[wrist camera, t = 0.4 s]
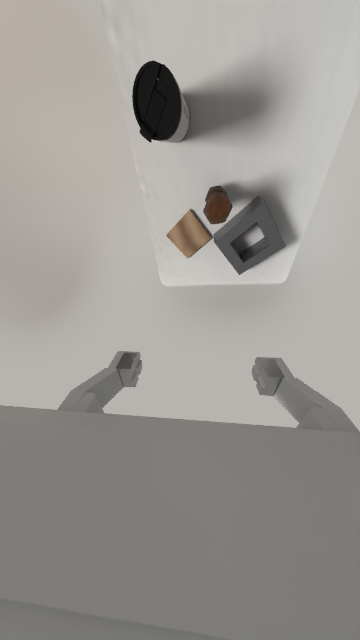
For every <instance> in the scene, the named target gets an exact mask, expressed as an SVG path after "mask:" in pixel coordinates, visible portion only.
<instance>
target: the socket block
mask: <svg viewBox="0 0 360 640" xmlns="http://www.w3.org/2000/svg"><path fill="white" fill-rule="evenodd" d="M256 222H257V224H258V226H259V228H260V229H261V231H262V233H263V235H264V238H263V239H261V240H260V241H258V242H257V243H256V244H254V245H253V246H251V247H250V248H248V249H247V250H246V251H244V252H243V253H241V254H240V253H239V251H238V250H237V248H236V247H235V245H234V244H233V243H232V241H233V240H234V239H236V238H237V237H238V236H239V235H241V234H242V233H243V232H245V231H246V230H247V229H248V228H250V227H251V226H252V225H254V224H255V223H256ZM214 242H215V244H216V245H217V246H218V248H219V249H220V250H221V252H222V253H223V254H224V256H225V257H226V258H227V259H228V261H229V262H230V263H231V265H232V266H233V267H234V269H235V270H236V271H237V273H238V274H239V275H240V274H242V273H243V272H245V271H247V270H248V269H250V268H251V267H253V266H255V265H256V264H258V263H260V262H261V261H263V260H264V259H266V258H268V257H269V256H271V255H272V254H274V253H276V252H277V251H279V250H280V249H282V248H284V247H285V244H284V242H283V240H282V237H281V235H280V233H279V231H278V229H277V227H276V225H275V223H274V221H273V219H272V217H271V215H270V213H269V211H268V209H267V207H266V204H265V202H264V201H263V200H262V199H261V198H260V197H259V196H258V197H256V198H255V199H254V200H253V201H252V202H251V203H249V204H248V205H247V206H246V207H245V208H244V209H243V210H241V211H240V212H239V213H238V214H237V215H236V216H234V217H233V218H232V219H231V220H230V221H229V222H228V223H226V224H225V225H224V226H223V227H222V228H221V229H220V230H218V231H217V232H216V233H215V234H214Z"/></svg>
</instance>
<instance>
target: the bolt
mask: <svg viewBox="0 0 360 640" xmlns="http://www.w3.org/2000/svg"><path fill="white" fill-rule="evenodd" d="M205 201H206V205H205V208H204V210H203V212H204V214H205V216H206V217H207V219H208V221H209V222H210V224H219V223H223V222H225V221H226V219H227V217H228V215H229V214H230V212H231V209H232V207H233V206H232V204H231V202H230V200H229V198H228V196H227V194H226V192H225V191H223V189H222V187H221V186H215V187H211V188H210V189H209V191H208V194H207V196H206V199H205Z"/></svg>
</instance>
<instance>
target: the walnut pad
mask: <svg viewBox="0 0 360 640" xmlns="http://www.w3.org/2000/svg"><path fill="white" fill-rule="evenodd" d="M167 237H168V238H169V239H170V240H171V241H172V242H173V243H174V244H175V245H176V247H177V248H178V249H179V250H180V251H181V252H182V253H183V254H184V255H185V256H186V257H187V258H189V257H190V256H191V255H192V254H193V253H194V252H196V251H197V250H198V249H199V248H200V247H201V246H203V245H204V244H205V243H206V242H207V241H208V240H210V239H211V236H210V235H209V233H208V232H207V231H206V230H205V228H204V227H203V226H202V224H201V223H200V222H199V220H198V219H197V218H196V216H195V215H194V214H193V212H192V211H191V210H189V211H188V212H187V213H186V214H185V215H184V217H183V218H182V219H181V220H180V221H179V222H178V223H177V224H176V225H175V226H174V227H173V229H172V230H171V231H170V232H169V233H168V234H167Z"/></svg>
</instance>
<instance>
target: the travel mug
mask: <svg viewBox="0 0 360 640" xmlns="http://www.w3.org/2000/svg"><path fill="white" fill-rule="evenodd" d="M132 98H133V108H134V113H135V117H136V120H137V122H138V124H139V126H140V128H141V129H140V133H141V135H142V136H143V137H144V138H145V139H146V140H148V141H149V142H152V141H151V139H153V140H157V141H163V142H179V141H181V140H182V139H183V138H184V137H185V135H186V133H187V131H188V127H189V120H190V119H189V110H188V107H187V104H186V102H185V100H184V97H183V95H182V93H181V91H180V88H179V86H178V84H177V82H176V80H175V78H174V76H173V74H172V73H171V72H170V70H169V69H168V68H167V67H166V66H165V65H163V64H160V63H158V62H156V61H149V62H147V63H146V64H144V65H143V66H142V67H141V68H140V70H139V72H138V73H137V75H136V78H135V81H134V86H133V96H132Z"/></svg>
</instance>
